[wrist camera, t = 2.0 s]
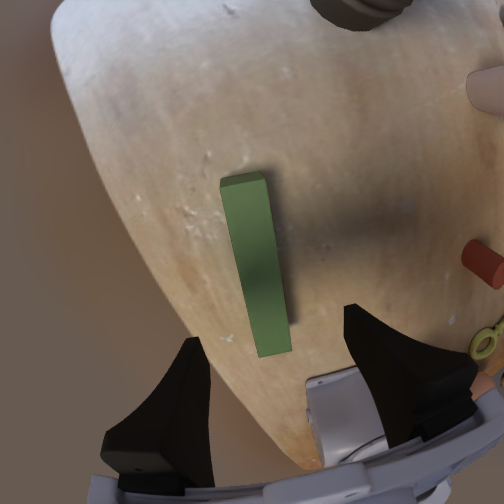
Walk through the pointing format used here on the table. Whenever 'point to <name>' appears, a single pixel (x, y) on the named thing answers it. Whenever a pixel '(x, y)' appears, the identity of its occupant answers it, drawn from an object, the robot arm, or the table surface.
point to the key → (482, 335)
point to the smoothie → (487, 90)
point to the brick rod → (484, 263)
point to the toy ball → (481, 385)
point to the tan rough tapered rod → (502, 381)
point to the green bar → (257, 260)
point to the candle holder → (359, 12)
